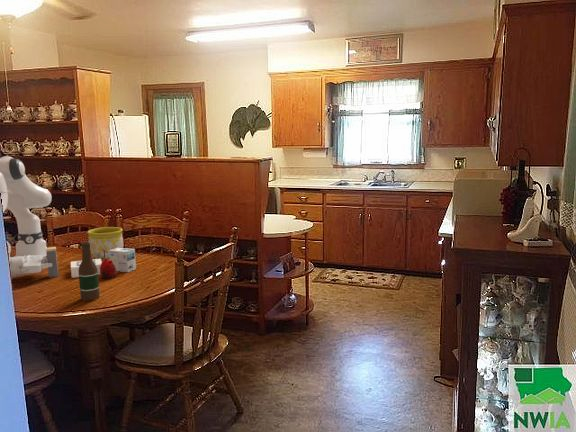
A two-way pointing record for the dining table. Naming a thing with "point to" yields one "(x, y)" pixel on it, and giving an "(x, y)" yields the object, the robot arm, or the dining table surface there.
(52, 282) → the dining table surface
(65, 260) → the dining table surface
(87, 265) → the beer bottle
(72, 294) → the dining table surface
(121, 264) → the light bulb box
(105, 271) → the red clay folk toy
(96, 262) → the socket block
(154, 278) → the dining table surface
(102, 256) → the flowerpot
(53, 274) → the plug
